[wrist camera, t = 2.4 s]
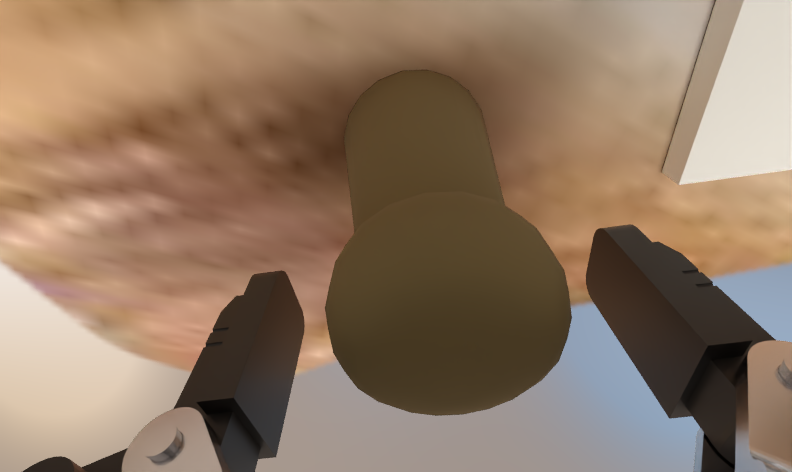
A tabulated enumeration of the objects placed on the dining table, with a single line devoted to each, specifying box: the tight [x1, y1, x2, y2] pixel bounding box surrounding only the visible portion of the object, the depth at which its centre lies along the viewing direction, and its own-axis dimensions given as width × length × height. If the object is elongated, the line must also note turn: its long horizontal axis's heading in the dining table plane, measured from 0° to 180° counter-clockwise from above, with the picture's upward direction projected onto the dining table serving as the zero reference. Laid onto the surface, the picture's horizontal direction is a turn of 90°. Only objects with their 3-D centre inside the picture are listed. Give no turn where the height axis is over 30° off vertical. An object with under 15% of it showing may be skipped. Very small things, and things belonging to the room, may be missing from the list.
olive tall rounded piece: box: [325, 70, 572, 415], centre depth 11 cm, size 6×6×11 cm
